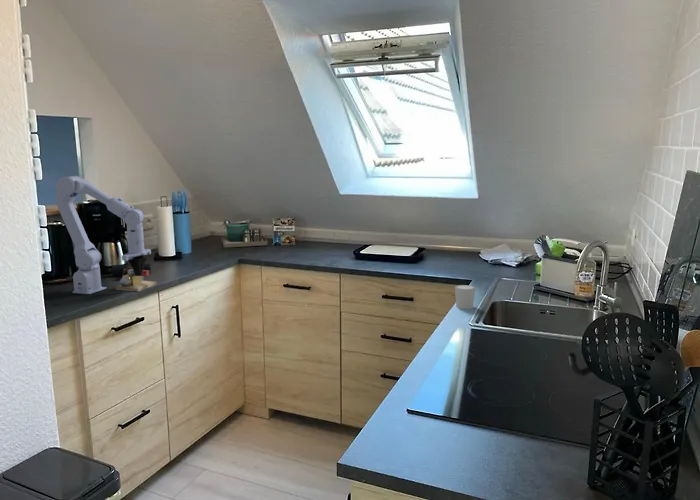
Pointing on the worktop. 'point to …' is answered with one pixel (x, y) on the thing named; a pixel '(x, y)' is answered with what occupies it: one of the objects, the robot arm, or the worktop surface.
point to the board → (137, 286)
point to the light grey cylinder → (464, 296)
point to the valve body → (131, 280)
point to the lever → (144, 272)
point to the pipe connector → (126, 269)
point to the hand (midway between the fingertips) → (138, 275)
